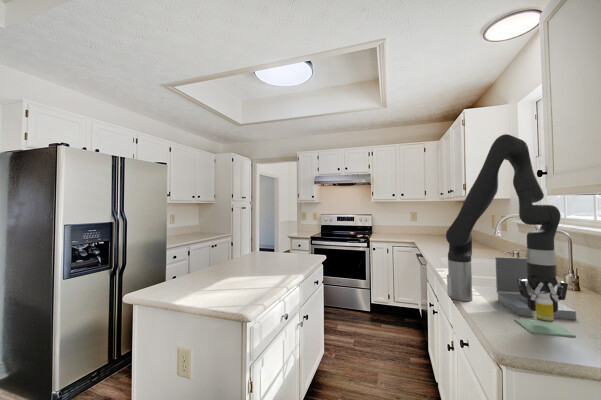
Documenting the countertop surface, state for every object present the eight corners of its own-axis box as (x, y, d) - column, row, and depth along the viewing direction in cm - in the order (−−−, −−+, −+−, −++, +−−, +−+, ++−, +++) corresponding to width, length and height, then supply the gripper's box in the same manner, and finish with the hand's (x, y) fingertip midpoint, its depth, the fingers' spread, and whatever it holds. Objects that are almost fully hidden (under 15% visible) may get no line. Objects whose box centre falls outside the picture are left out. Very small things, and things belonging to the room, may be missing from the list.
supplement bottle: (558, 324, 86) (557, 294, 86) (542, 324, 86) (541, 295, 87) (543, 317, 92) (542, 289, 92) (528, 317, 92) (527, 289, 92)
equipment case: (519, 315, 99) (517, 266, 99) (496, 299, 116) (495, 257, 116) (576, 319, 95) (574, 267, 95) (544, 302, 111) (543, 258, 112)
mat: (531, 333, 85) (531, 331, 85) (514, 320, 95) (514, 318, 95) (575, 337, 83) (575, 335, 83) (553, 323, 92) (553, 321, 92)
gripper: (523, 263, 87) (525, 313, 87) (574, 265, 84) (576, 317, 84) (510, 259, 95) (512, 305, 94) (557, 260, 91) (559, 308, 91)
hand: (542, 310), depth 89 cm, fingers closed on supplement bottle, 5 cm apart
